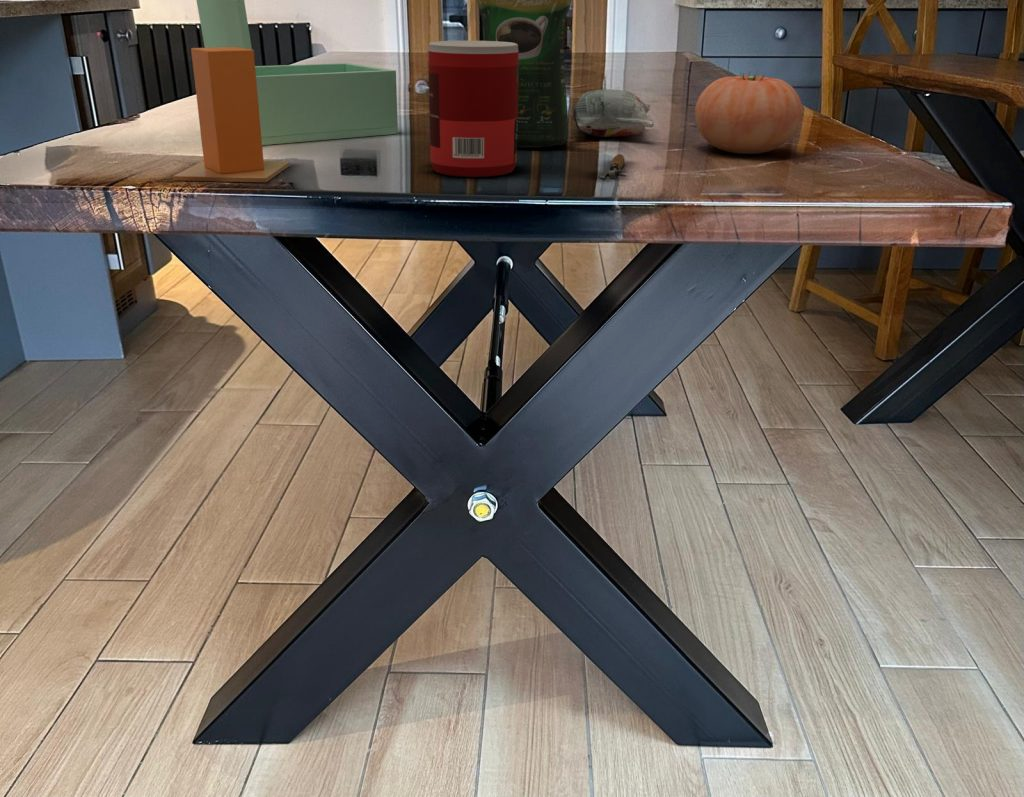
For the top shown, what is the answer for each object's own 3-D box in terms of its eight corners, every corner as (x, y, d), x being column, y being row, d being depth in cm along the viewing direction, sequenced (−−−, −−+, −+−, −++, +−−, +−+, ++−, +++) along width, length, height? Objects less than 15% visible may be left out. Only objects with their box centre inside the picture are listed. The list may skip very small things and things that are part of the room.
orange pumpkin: (819, 156, 98) (831, 74, 95) (739, 163, 93) (748, 78, 90) (747, 141, 107) (756, 65, 103) (670, 147, 102) (676, 68, 98)
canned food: (533, 172, 87) (536, 44, 83) (461, 181, 83) (460, 46, 78) (484, 160, 93) (484, 39, 89) (414, 167, 88) (411, 41, 84)
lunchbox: (350, 121, 116) (347, 62, 114) (398, 133, 108) (396, 70, 105) (218, 131, 107) (211, 67, 105) (258, 145, 99) (252, 76, 96)
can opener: (613, 165, 93) (614, 153, 92) (637, 166, 92) (638, 154, 92) (594, 182, 85) (594, 169, 84) (620, 184, 84) (620, 171, 84)
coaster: (173, 180, 81) (173, 175, 81) (204, 164, 89) (204, 159, 89) (266, 182, 81) (266, 177, 81) (289, 166, 89) (289, 161, 88)
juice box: (220, 174, 82) (207, 51, 78) (204, 166, 85) (190, 48, 81) (264, 169, 84) (253, 49, 80) (247, 162, 87) (236, 46, 83)
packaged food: (648, 128, 114) (651, 85, 112) (652, 144, 103) (654, 96, 102) (575, 127, 115) (577, 84, 113) (571, 142, 104) (572, 95, 102)
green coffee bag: (570, 140, 105) (577, -46, 98) (564, 151, 98) (571, -48, 91) (483, 137, 106) (483, -47, 99) (471, 148, 99) (471, -49, 92)
